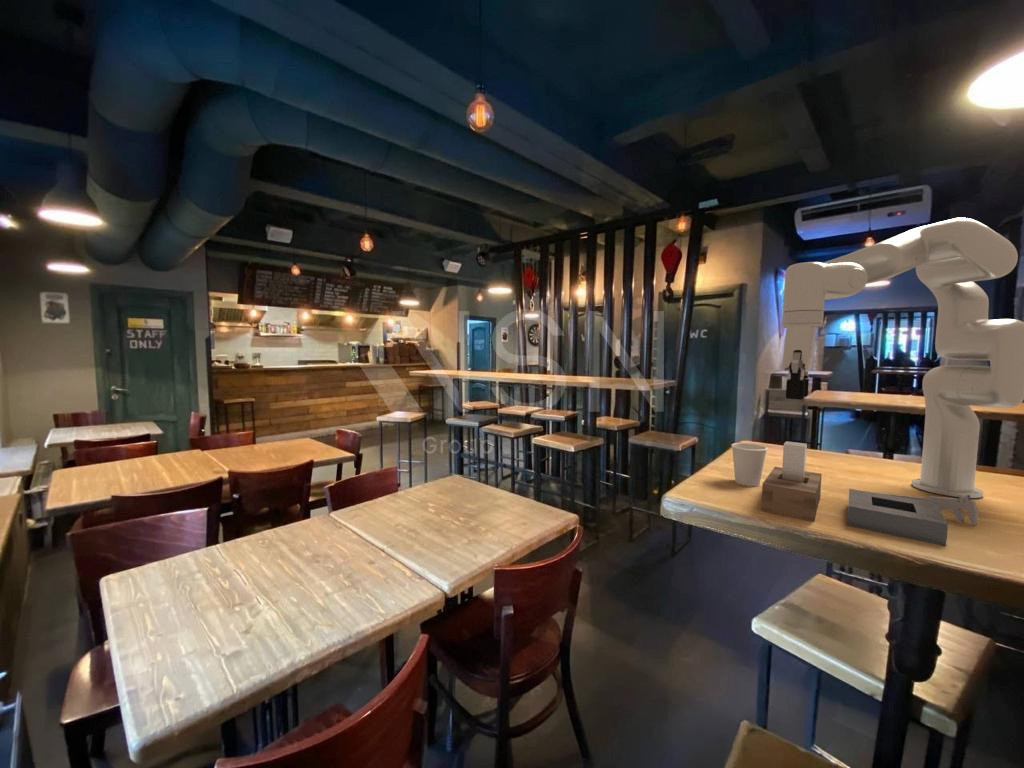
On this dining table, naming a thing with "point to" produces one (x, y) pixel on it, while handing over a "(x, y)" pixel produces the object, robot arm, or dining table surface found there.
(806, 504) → the slotted block
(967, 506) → the caliper
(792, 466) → the rectangular block
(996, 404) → the robot arm
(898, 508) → the seat block
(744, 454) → the dixie cup
